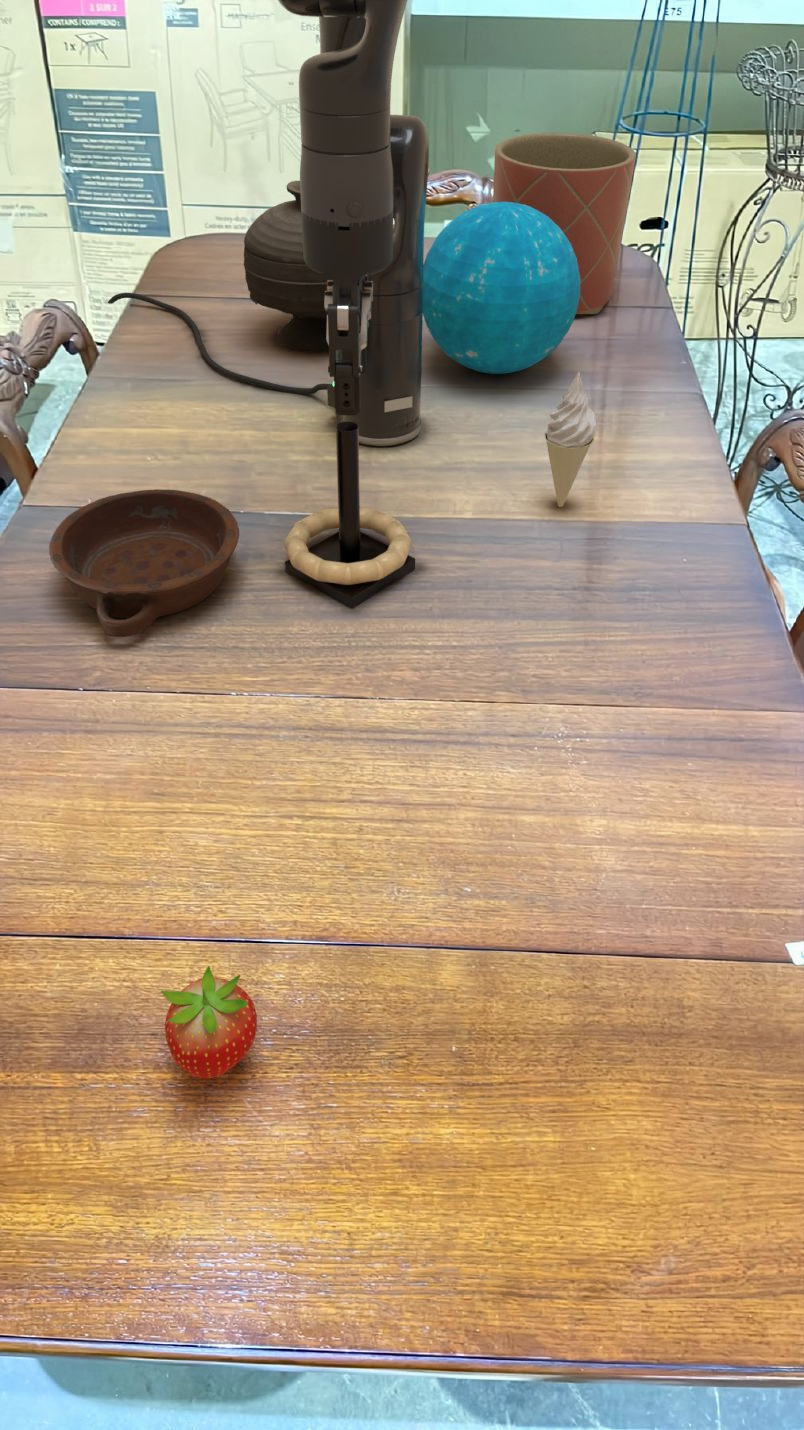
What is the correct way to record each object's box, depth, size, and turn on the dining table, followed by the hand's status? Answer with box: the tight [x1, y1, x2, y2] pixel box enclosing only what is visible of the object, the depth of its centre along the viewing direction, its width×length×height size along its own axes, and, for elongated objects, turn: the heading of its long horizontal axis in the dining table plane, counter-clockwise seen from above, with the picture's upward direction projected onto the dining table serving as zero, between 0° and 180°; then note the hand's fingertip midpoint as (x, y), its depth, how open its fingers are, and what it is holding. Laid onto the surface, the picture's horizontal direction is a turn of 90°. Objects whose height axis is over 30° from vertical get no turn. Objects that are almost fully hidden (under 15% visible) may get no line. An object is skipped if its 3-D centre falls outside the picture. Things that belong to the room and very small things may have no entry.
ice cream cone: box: [543, 371, 597, 508], centre depth 110 cm, size 5×5×15 cm
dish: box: [48, 488, 240, 638], centre depth 102 cm, size 18×22×5 cm
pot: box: [243, 180, 333, 353], centre depth 142 cm, size 18×18×20 cm
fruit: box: [160, 965, 258, 1079], centre depth 63 cm, size 5×5×8 cm
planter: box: [492, 132, 637, 315], centre depth 153 cm, size 19×19×20 cm
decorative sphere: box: [423, 201, 580, 375], centre depth 135 cm, size 20×20×20 cm
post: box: [284, 422, 416, 609], centre depth 100 cm, size 9×9×15 cm
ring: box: [283, 507, 412, 585], centre depth 105 cm, size 12×12×2 cm
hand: (351, 392), depth 99 cm, fingers open, 8 cm apart
